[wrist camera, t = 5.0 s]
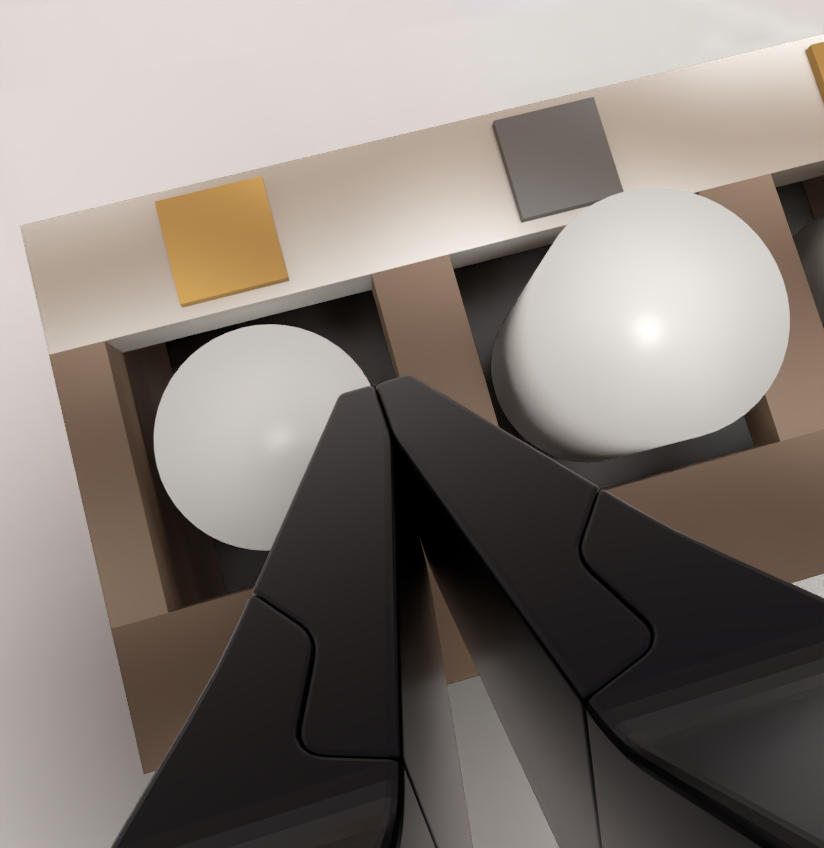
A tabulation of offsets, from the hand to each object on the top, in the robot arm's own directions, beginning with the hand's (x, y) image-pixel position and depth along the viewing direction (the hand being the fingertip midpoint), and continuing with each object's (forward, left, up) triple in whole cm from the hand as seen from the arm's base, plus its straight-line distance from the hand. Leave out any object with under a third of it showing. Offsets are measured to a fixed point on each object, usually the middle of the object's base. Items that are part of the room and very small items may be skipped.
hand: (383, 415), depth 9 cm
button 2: (+1, +2, -9) cm, 9 cm away
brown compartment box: (0, -5, -12) cm, 13 cm away
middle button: (0, -5, -7) cm, 9 cm away
